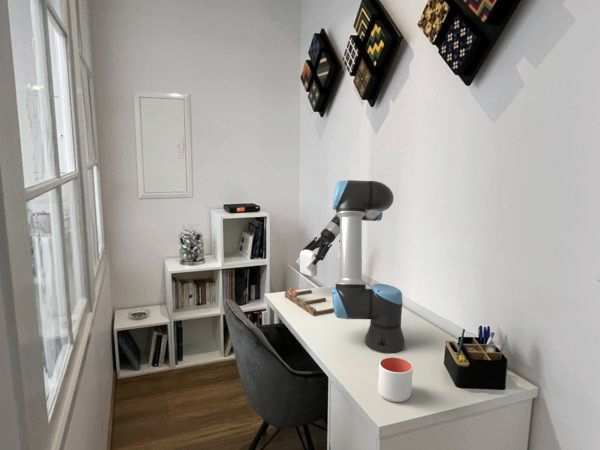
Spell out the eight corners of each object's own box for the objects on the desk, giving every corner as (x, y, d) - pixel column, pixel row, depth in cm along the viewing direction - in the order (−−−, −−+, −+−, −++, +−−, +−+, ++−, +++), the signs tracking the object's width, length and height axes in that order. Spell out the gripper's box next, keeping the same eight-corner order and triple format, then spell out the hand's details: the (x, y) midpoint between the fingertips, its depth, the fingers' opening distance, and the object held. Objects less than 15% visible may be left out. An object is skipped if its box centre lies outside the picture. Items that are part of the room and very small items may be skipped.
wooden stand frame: (341, 310, 202) (341, 298, 201) (313, 316, 195) (313, 303, 194) (310, 292, 228) (310, 281, 227) (285, 296, 221) (285, 285, 220)
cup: (395, 407, 126) (397, 376, 125) (371, 392, 134) (372, 362, 133) (417, 397, 132) (419, 366, 130) (392, 382, 140) (394, 354, 138)
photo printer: (298, 272, 218) (298, 248, 216) (304, 271, 221) (305, 247, 218) (311, 277, 210) (311, 252, 208) (318, 276, 213) (318, 251, 210)
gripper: (347, 241, 209) (318, 276, 205) (323, 233, 229) (296, 265, 225) (338, 231, 206) (309, 267, 202) (314, 224, 226) (287, 256, 221)
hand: (302, 266), depth 213 cm, fingers closed on photo printer, 10 cm apart
